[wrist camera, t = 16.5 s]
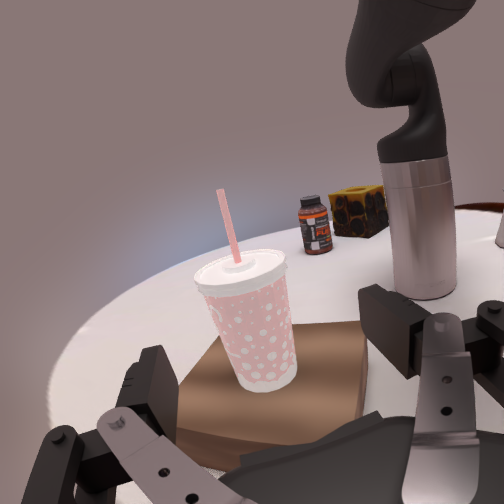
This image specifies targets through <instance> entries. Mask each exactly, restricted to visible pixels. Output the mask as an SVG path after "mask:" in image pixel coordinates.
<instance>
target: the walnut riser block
mask: <svg viewBox="0 0 504 504" xmlns="http://www.w3.org/2000/svg"><path fill="white" fill-rule="evenodd" d="M292 330H293V338H294V345H295V353H296V361H297V372H296V376H295V377H294V378H293V379H292V380H291V382H290V383H288V384H287V385H285V386H284V387H282V388H280V389H277V390H274V391H270V392H252V391H249V390H246V389H245V388H244V387H243V386H242V385H241V384H240V383H239V381H238V378H237V376H236V374H235V371H234V369H233V367H232V364H231V362H230V360H229V357H228V355H227V352H226V350H225V348H224V345H223V343H222V340H221V338H220V335H219V336H218V337H217V339H216V340H215V341H214V342H213V344H212V345H211V346H210V347H209V349H208V350H207V351H206V352H205V354H204V355H203V356H202V357H201V359H200V360H199V361H198V362H197V364H196V365H195V366H194V367H193V369H192V370H191V371H190V372H189V374H188V375H187V376H186V377H185V379H184V380H183V381H182V382H181V383H180V385H179V397H178V413H177V430H176V446H177V447H178V448H179V449H180V450H181V451H182V452H183V453H185V454H186V455H187V456H188V457H189V458H191V459H192V460H193V461H194V462H196V463H197V464H198V465H200V466H203V467H207V468H211V469H216V470H220V471H225V472H228V471H230V470H232V469H234V468H236V467H238V466H240V465H241V462H240V456H239V455H243V454H248V453H252V452H256V451H260V450H264V449H268V448H271V447H277V446H288V445H297V444H305V443H312V442H315V441H317V440H319V439H320V438H322V437H324V436H326V435H327V434H329V433H331V432H332V431H334V430H336V429H337V428H339V427H340V426H342V425H344V424H345V423H348V422H350V421H353V420H355V419H358V418H360V417H362V416H363V409H364V400H365V391H366V382H367V371H368V348H367V337H366V336H365V335H364V333H363V330H362V327H361V322H360V321H347V322H331V323H313V324H292Z"/></svg>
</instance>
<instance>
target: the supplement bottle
mask: <svg viewBox="0 0 504 504" xmlns="http://www.w3.org/2000/svg"><path fill="white" fill-rule="evenodd" d="M300 201H301V205H302V206H301V209H300V210H299V212H298V216H299V221H300V227H301V232H302V237H303V243H304V248H305V251H306V252H307V253H309V254H321V253H325V252H328V251H329V250H331V249H332V247H333V245H332V238H331V232H330V226H329V220H328V214H327V209H326V207H325V206H324V205H322V204H321V202H320V196H319V195H314V196H307V197H303V198H301V199H300Z"/></svg>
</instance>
